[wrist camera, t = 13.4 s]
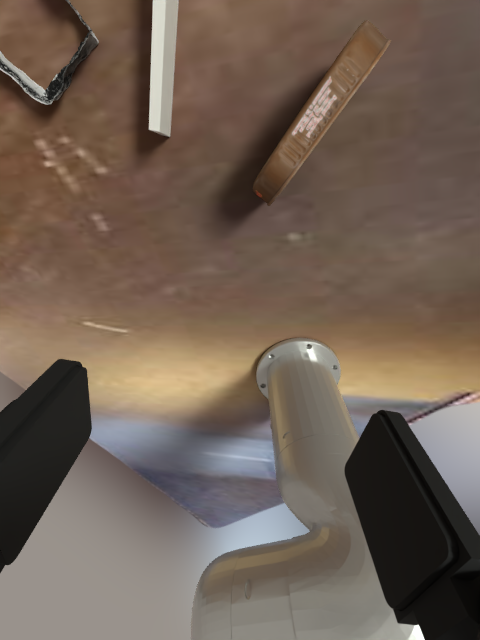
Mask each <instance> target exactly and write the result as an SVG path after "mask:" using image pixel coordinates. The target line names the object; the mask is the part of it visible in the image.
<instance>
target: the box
mask: <svg viewBox="0 0 480 640" xmlns="http://www.w3.org/2000/svg"><path fill="white" fill-rule="evenodd" d="M178 2H179V0H153V14H152V45H151V77H150V109H149V130H151V131H153V132H155V133H158V134H160V135H164V136H168V137H170V132H171V115H172V99H173V83H174V67H175V50H176V34H177V18H178Z"/></svg>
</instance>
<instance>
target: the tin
mask: <svg viewBox="0 0 480 640" xmlns="http://www.w3.org/2000/svg"><path fill="white" fill-rule="evenodd" d="M390 42H391V40H389V39H386V38H385V37H384V36H383V35H382V34H381V33H380V31H379V30H378V29H377V28H376V27H375V26H374V25H373V24H372V23H370V22H369V21H367V20H366V21H364V22H363V23H362V24H361V25H360V26H359V28H358V29H357V30H356V31H355V33H354V34H353V36H352V37H351V38H350V40H349V41H348V43H347V44H346V45H345V47H344V48H343V50H342V51H341V53H340V54H339V55H338V57H337V58H336V60H335V61H334V63H333V64H332V65H331V67H330V68H329V70H328V71H327V73H326V74H325V76H324V77H323V79H322V80H321V81H320V83H319V84H318V86H317V87H316V89H315V90H314V92H313V93H312V94H311V96H310V97H309V99H308V100H307V102H306V103H305V105H304V106H303V108H302V109H301V110H300V112H299V114H298V115H297V117H296V118H295V119H294V121H293V122H292V124H291V125H290V127H289V128H288V130H287V132H286V133H285V135H284V136H283V138H282V139H281V141H280V142H279V144H278V145H277V147H276V148H275V150H274V151H273V153H272V154H271V156H270V157H269V159H268V160H267V162H266V163H265V165H264V166H263V168H262V170H261V171H260V173H259V175H258V176H257V178H256V180H255V182H254V184H253V192H254V193H255V194H257V195H258V196H259V197H260V198H261V199H263V200H264V201H265V202H266V203H267V205H268V206H270V205H271V204H272V203H273V202H274V200H275V199H276V198H277V197H278V196H279V194H280V193H281V192H282V190H283V189H284V188H285V187H286V185H287V184H288V183H289V181H290V180H291V179H292V178H293V176H294V175H295V174H296V172H297V171H298V169H299V168H300V167H301V165H302V164H303V163H304V161H305V160H306V159H307V157H308V156H309V155H310V153H311V152H312V150H313V149H314V148H315V147H316V145H317V144H318V142H319V141H320V140H321V138H322V137H323V136H324V134H325V133H326V131H327V130H328V129H329V127H330V126H331V125H332V123H333V122H334V121H335V119H336V118H337V117H338V115H339V114H340V112H341V111H342V110H343V108H344V107H345V106H346V104H347V103H348V102H349V100H350V99H351V98H352V96H353V95H354V93H355V92H356V91H357V89H358V88H359V87H360V85H361V84H362V83H363V81H364V80H365V79H366V77H367V76H368V75H369V73H370V72H371V71H372V69H373V68H374V66H375V65H376V63H377V62H378V60H379V59H380V58H381V56H382V55H383V53H384V52H385V50H386V49H387V47H388V46H389V44H390Z"/></svg>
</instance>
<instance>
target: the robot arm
mask: <svg viewBox="0 0 480 640" xmlns="http://www.w3.org/2000/svg"><path fill="white" fill-rule="evenodd" d="M340 373H341V369H340V364H339V361H338V359H337V357H336V355H335V354H334V352H333V351H332V350H331V349H330V348H329V347H328V346H326V345H325V344H323V343H321V342H319V341H317V340H313V339H308V338H294V339H288V340H285V341H282V342H280V343H277V344H275V345H274V346H272V347H271V348H269V349H268V350H267V351H266V352H265V353H264V354H263V356H262V357H261V359H260V360H259V363H258V365H257V370H256V380H257V385H258V387H259V389H260V391H261V392H262V394H263V395H264V396H265V397H266V398H267V399H269V408H270V419H271V425H270V427H271V429H272V439H273V450H274V460H275V470H276V479H277V485H278V488H279V492H280V494H281V496H282V498H283V500H284V502H285V504H286V505H287V506H288V508H289V509H290V510H291V511H292V513H293V514H294V515H295V516H296V517H297V518H298V520H300V521H301V522H302V523H303V524H304V525H305V526H306V527H307V528H308V529H309V530H310V532H309V533H307V534H305V535H301V536H297V537H293V538H292V539H287V540H282V541H277V542H272V543H267V544H262V545H257V546H252V547H247V548H242V549H238V550H234V551H231V552H228V553H225V554H223V555H221V556H219V557H217V558H216V559H215V560H213V561H212V563H210V564H209V566H207V568H206V569H205V571H204V572H203V574H202V576H201V578H200V580H199V582H198V585H197V588H196V592H195V596H194V601H193V607H192V619H191V640H480V536H479V534H478V533H477V531H476V530H475V528H474V526H473V525H472V523H471V522H470V520H469V518H468V517H467V515H466V514H465V512H464V511H463V509H462V508H461V506H460V505H459V503H458V501H457V500H456V499H455V497H454V495H453V494H452V492H451V491H450V489H449V487H448V486H447V484H446V483H445V481H444V480H443V478H442V477H441V475H440V473H439V472H438V471H437V469H436V467H435V466H434V464H433V463H432V462H431V460H430V458H429V456H428V455H427V454H426V452H425V450H424V449H423V447H422V446H421V444H420V442H419V441H418V439H417V438H416V436H415V435H414V433H413V432H412V430H411V429H410V427H409V425H408V424H407V422H406V421H405V419H404V418H403V416H402V415H401V414H400V413H397V412H391V411H385V410H380V411H378V412H377V414H373V415H372V417H371V418H370V420H369V422H368V424H367V426H366V428H365V429H364V431H363V433H362V435H361V437H360V438H359V436H358V433H357V431H356V429H355V426H354V424H353V422H352V419H351V417H350V415H349V412H348V410H347V408H346V405H345V403H344V401H343V398H342V396H341V394H340V391H339V389H338V387H337V384H338V382H339V379H340ZM91 429H92V426H91V414H90V402H89V390H88V378H87V369H86V368H84V367H82V364H81V363H80V362H77V361H71V360H64V359H59V360H57V361H56V362H55V363H54V364H53V365H52V366H51V367H50V368H49V369H47V370H46V371H45V372H44V373H43V374H42V375H41V376H40V377H39V378H38V379H37V380H36V381H35V382H34V383H33V384H32V385H31V386H30V387H29V388H28V389H27V390H26V391H25V392H24V393H23V394H22V395H21V396H20V397H19V398H18V399H16V400H14V401H13V402H11V403H10V404H9V405H7V406H6V407H5V408H4V409H3V410H2V411H1V412H0V573H1V571H2V569H3V568H4V566H5V565H10V564H11V563H12V562H13V561H14V560H15V559H16V558H17V556H18V554H19V553H20V551H21V550H22V548H23V546H24V545H25V543H26V541H27V540H28V538H29V536H30V535H31V533H32V532H33V530H34V528H35V526H36V525H37V523H38V522H39V520H40V518H41V517H42V515H43V513H44V512H45V510H46V508H47V507H48V505H49V503H50V502H51V500H52V498H53V497H54V495H55V493H56V492H57V490H58V489H59V487H60V485H61V484H62V482H63V480H64V478H65V477H66V475H67V474H68V472H69V470H70V469H71V467H72V465H73V464H74V462H75V460H76V459H77V457H78V455H79V454H80V452H81V450H82V449H83V447H84V445H85V444H86V442H87V441H88V439H89V436H90V434H91Z"/></svg>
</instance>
